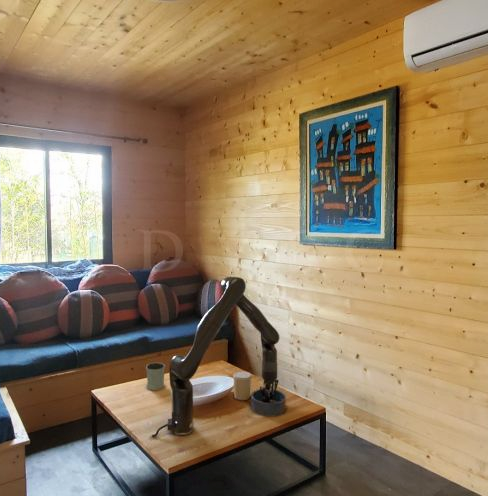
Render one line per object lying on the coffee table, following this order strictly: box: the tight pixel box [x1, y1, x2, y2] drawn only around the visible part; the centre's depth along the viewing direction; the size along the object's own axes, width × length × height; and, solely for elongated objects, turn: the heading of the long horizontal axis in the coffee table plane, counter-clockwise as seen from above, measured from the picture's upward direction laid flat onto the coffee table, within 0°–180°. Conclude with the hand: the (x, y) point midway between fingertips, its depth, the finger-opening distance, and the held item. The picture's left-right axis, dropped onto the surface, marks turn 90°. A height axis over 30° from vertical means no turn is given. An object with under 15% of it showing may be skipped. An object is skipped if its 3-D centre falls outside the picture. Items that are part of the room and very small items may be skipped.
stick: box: [261, 397, 277, 403], centre depth 208 cm, size 9×2×2 cm, turn 51°
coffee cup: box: [232, 370, 252, 401], centre depth 219 cm, size 9×9×12 cm
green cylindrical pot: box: [145, 361, 166, 391], centre depth 230 cm, size 10×10×12 cm
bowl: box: [250, 388, 287, 417], centre depth 208 cm, size 17×17×6 cm
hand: (269, 402), depth 208 cm, fingers closed on stick, 2 cm apart
